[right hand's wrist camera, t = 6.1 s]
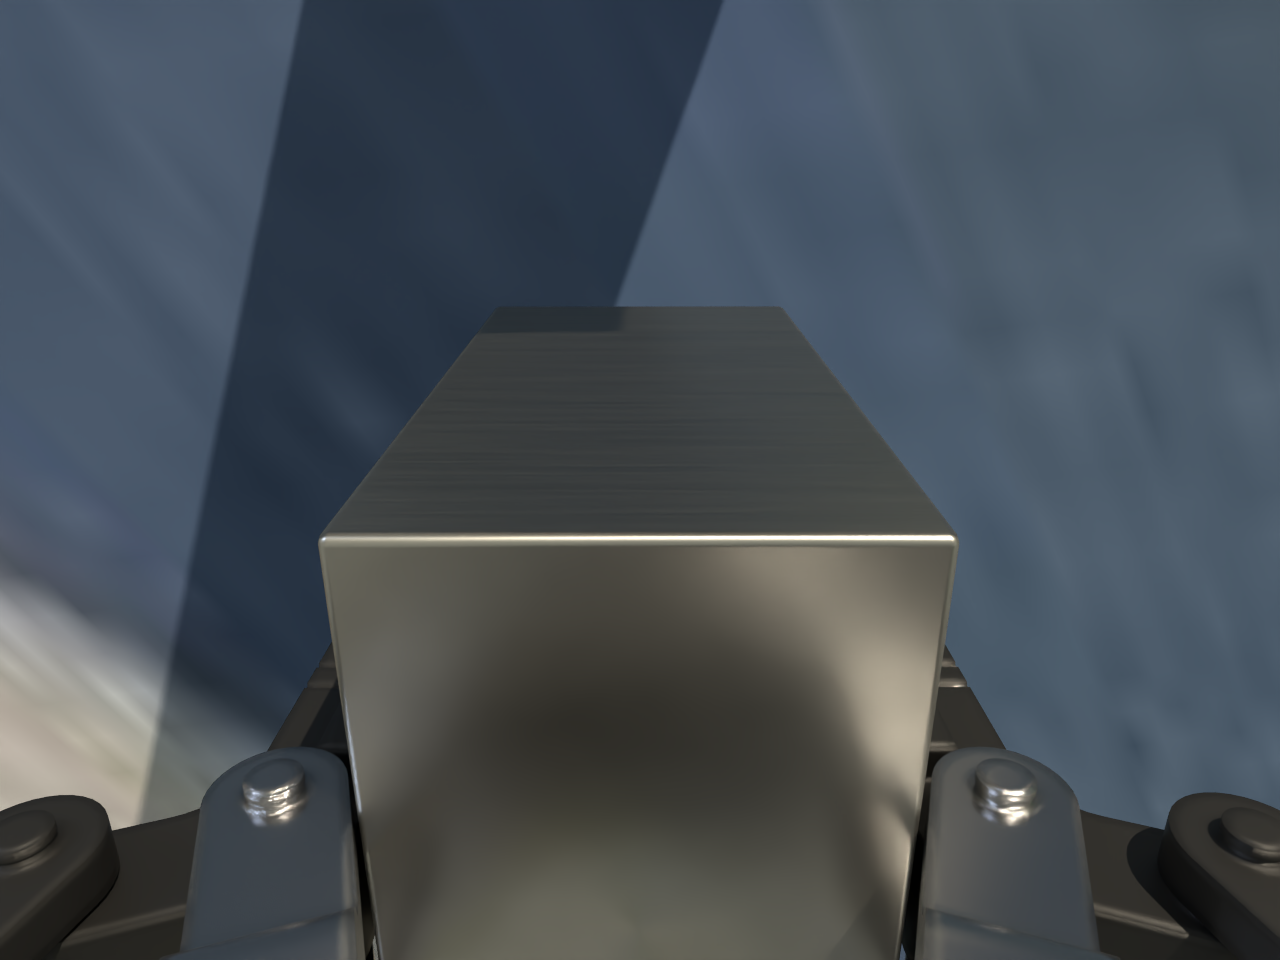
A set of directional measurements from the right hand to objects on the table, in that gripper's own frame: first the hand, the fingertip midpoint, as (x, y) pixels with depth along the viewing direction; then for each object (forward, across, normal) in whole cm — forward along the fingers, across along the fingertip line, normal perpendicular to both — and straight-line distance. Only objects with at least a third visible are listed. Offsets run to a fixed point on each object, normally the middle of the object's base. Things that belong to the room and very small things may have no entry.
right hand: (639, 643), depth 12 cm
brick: (+4, 0, 0) cm, 4 cm away
